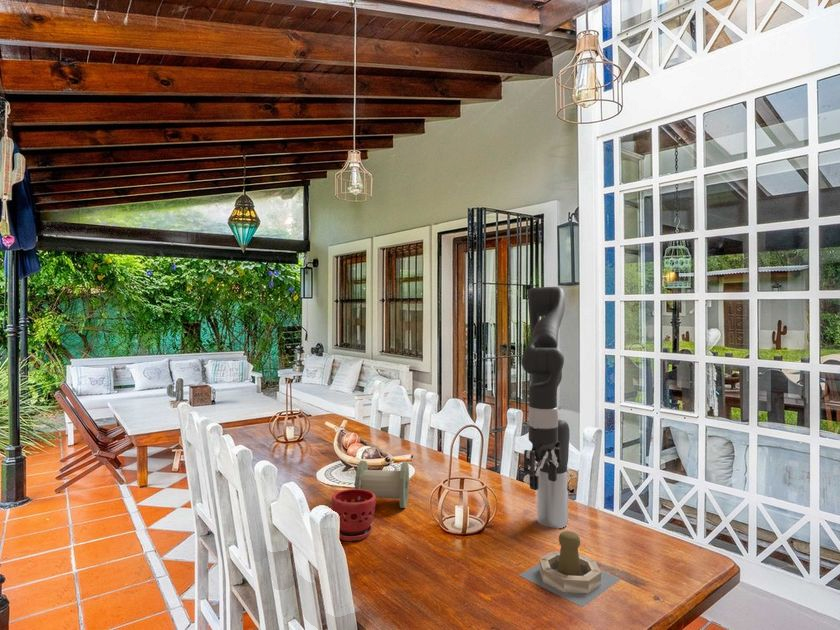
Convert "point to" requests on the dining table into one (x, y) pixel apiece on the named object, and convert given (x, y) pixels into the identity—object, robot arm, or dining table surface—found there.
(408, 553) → the dining table surface
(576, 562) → the olive pawn peg
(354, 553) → the dining table surface
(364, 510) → the plant pot
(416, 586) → the dining table surface
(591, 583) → the wooden ring
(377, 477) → the spool
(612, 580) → the slate mat
